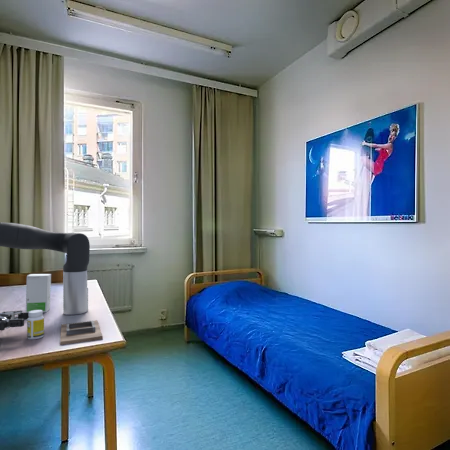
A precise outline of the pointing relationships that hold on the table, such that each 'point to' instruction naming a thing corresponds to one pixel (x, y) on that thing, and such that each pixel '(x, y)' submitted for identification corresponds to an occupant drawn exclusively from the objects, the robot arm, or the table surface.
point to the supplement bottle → (35, 324)
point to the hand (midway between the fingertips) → (29, 318)
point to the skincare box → (38, 292)
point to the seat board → (80, 332)
